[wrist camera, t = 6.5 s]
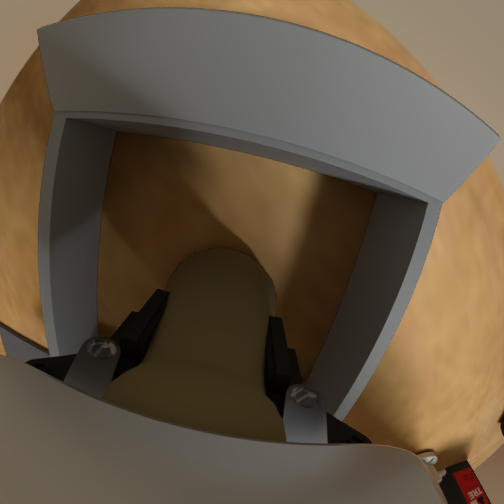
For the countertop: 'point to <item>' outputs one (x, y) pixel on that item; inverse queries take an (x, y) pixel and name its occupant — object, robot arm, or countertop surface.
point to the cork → (209, 351)
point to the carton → (250, 152)
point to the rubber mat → (20, 346)
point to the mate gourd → (502, 426)
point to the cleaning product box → (462, 485)
